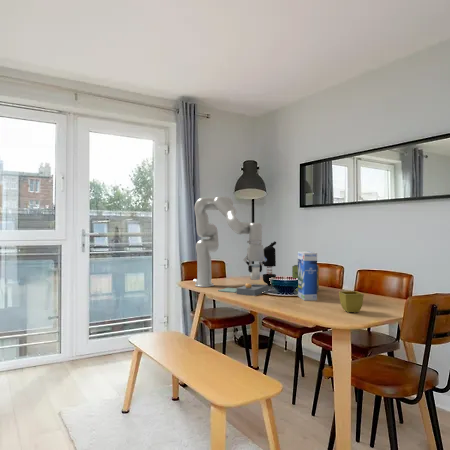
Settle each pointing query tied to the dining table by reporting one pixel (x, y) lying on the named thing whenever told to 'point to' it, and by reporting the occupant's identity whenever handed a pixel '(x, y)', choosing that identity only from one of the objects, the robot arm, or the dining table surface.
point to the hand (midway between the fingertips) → (255, 271)
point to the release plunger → (248, 285)
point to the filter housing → (252, 290)
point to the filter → (269, 261)
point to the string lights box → (307, 275)
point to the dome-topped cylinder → (255, 272)
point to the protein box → (295, 274)
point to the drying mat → (229, 290)
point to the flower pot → (351, 300)
